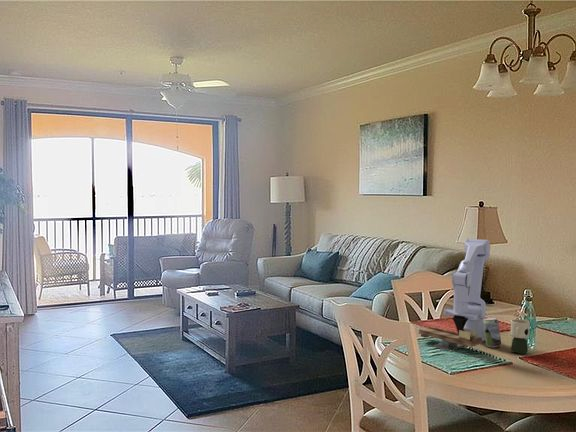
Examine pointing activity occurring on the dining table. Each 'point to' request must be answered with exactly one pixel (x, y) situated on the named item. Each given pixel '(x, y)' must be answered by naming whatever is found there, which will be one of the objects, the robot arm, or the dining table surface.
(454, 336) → the beam
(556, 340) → the dining table surface
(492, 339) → the beverage can
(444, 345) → the pivot stand
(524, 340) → the character mug
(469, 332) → the brass block
